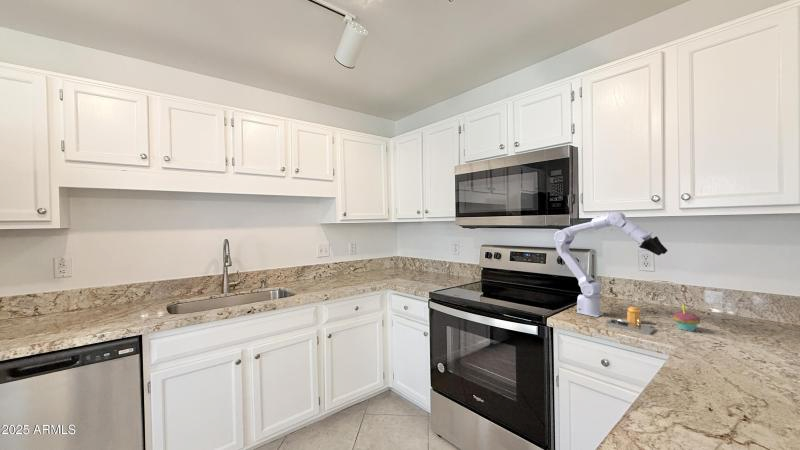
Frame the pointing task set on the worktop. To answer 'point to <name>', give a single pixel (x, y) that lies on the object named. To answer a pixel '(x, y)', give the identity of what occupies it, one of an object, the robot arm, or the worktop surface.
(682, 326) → the cupcake
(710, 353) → the worktop surface
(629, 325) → the plate
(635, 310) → the acorn cap nut
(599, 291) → the robot arm
